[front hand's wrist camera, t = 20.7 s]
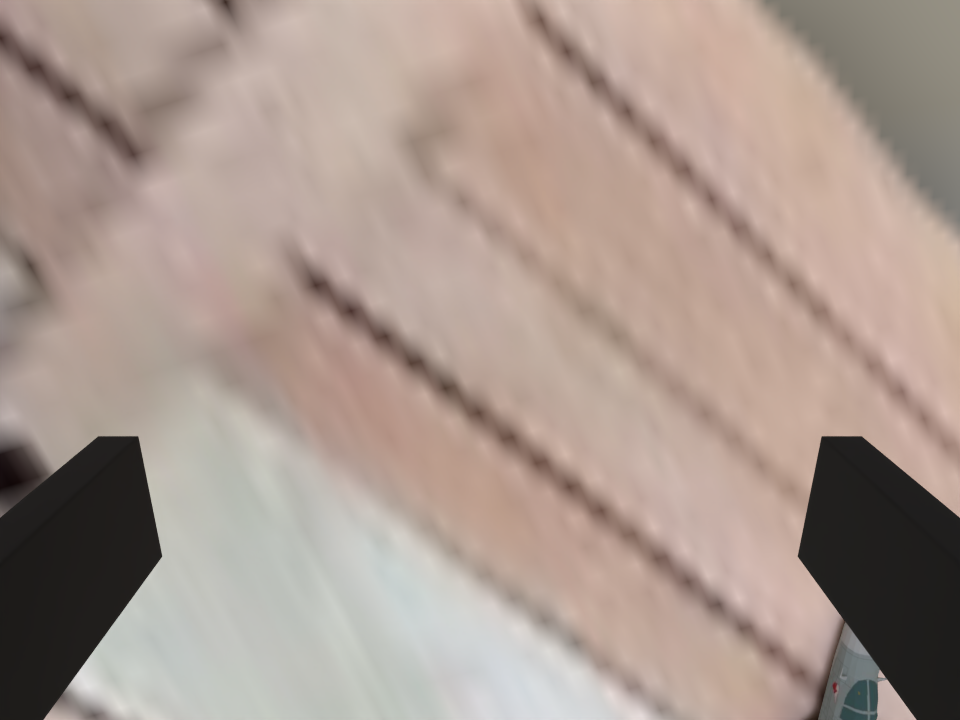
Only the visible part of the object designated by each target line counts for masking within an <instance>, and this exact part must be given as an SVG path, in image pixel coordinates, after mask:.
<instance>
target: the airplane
mask: <svg viewBox="0 0 960 720" xmlns="http://www.w3.org/2000/svg"><path fill="white" fill-rule="evenodd" d="M878 673H879V667H878V666H877V665H876V663H875V662H874V660H873V659H872V658H871V656H870V655H869V654H868V652H867V651H866V649H865V648H864V647H863V645H862V644H861V643H860V641H859V640H858V638H857V637H856V636H855V634H854V633H853V632H852V630H851V629H850V627H849V626H848V625H847V623H846V622H845V624H844V627H843V630H842V634H841V637H840V640H839V643H838V646H837V649H836V653H835V656H834V659H833V663H832V667H831V671H830V675H829V679H828V683H827V687H826V691H825V695H824V699H823V703H822V707H821V710H820V714H819V718H818V720H876V719H877V704H878V688H877V682H878V681H883V680H886V679H887V678H878Z"/></svg>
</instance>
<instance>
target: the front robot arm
mask: <svg viewBox="0 0 960 720" xmlns="http://www.w3.org/2000/svg"><path fill="white" fill-rule="evenodd" d="M161 557H162V553H161V548H160V543H159V538H158V533H157V528H156V523H155V518H154V513H153V508H152V503H151V498H150V493H149V488H148V483H147V478H146V473H145V468H144V463H143V458H142V453H141V448H140V443H139V438H138V436H98V437H97V438H96V439H95V440H93V441H92V442H91V443H90V444H89V445H87V446H86V447H85V448H84V449H83V450H81V451H80V452H79V453H78V454H77V455H75V456H74V457H73V458H72V459H71V460H69V461H68V462H67V463H66V464H65V465H63V466H62V467H61V468H60V469H59V470H57V471H56V472H55V473H54V474H52V475H51V476H50V477H49V478H48V479H46V480H45V481H44V482H43V483H42V484H40V485H39V486H38V487H37V488H36V489H34V490H33V491H32V492H31V493H30V494H28V495H27V496H26V497H25V498H24V499H22V500H21V501H20V502H19V503H18V504H16V505H15V506H14V507H13V508H12V509H10V510H9V511H8V512H7V513H5V514H4V515H3V516H2V517H1V518H0V720H44V718H45V717H46V715H47V714H48V713H49V711H50V710H51V709H52V707H53V706H54V704H55V703H56V702H57V700H58V699H59V698H60V696H61V695H62V693H63V692H64V691H65V689H66V688H67V687H68V685H69V684H70V682H71V681H72V680H73V678H74V677H75V676H76V674H77V673H78V671H79V670H80V669H81V667H82V666H83V665H84V663H85V662H86V660H87V659H88V658H89V656H90V655H91V654H92V652H93V651H94V649H95V648H96V647H97V645H98V644H99V643H100V641H101V640H102V638H103V637H104V636H105V634H106V633H107V632H108V630H109V629H110V627H111V626H112V625H113V623H114V622H115V621H116V619H117V618H118V616H119V615H120V614H121V612H122V611H123V610H124V608H125V607H126V606H127V604H128V603H129V601H130V600H131V599H132V597H133V596H134V595H135V593H136V592H137V590H138V589H139V588H140V586H141V585H142V584H143V582H144V581H145V579H146V578H147V577H148V575H149V574H150V573H151V571H152V570H153V568H154V567H155V566H156V564H157V563H158V562H159V560H160V559H161ZM798 557H799V559H800V560H801V562H802V563H803V564H804V566H805V567H806V568H807V570H808V571H809V573H810V574H811V575H812V577H813V578H814V579H815V581H816V582H817V584H818V585H819V586H820V588H821V589H822V590H823V592H824V593H825V595H826V596H827V597H828V599H829V600H830V601H831V603H832V604H833V606H834V607H835V608H836V610H837V611H838V612H839V614H840V615H841V616H842V618H843V619H844V621H845V622H846V623H847V625H848V626H849V627H850V629H851V630H852V632H853V633H854V634H855V636H856V637H857V638H858V640H859V641H860V643H861V644H862V645H863V647H864V648H865V649H866V651H867V652H868V654H869V655H870V656H871V658H872V659H873V660H874V662H875V663H876V665H877V666H878V667H879V669H880V670H881V671H882V673H883V674H884V676H885V677H886V678H887V680H888V681H889V682H890V684H891V685H892V687H893V688H894V689H895V691H896V692H897V693H898V695H899V696H900V698H901V699H902V700H903V702H904V703H905V704H906V706H907V707H908V709H909V710H910V711H911V713H912V714H913V715H914V717H915V718H916V720H960V518H959V517H958V516H957V515H956V514H955V513H953V512H952V511H951V510H950V509H948V508H947V507H946V506H945V505H944V504H942V503H941V502H940V501H939V500H938V499H936V498H935V497H934V496H933V495H932V494H930V493H929V492H928V491H927V490H926V489H924V488H923V487H922V486H921V485H920V484H918V483H917V482H916V481H915V480H914V479H912V478H911V477H910V476H909V475H908V474H906V473H905V472H904V471H903V470H901V469H900V468H899V467H898V466H897V465H895V464H894V463H893V462H892V461H891V460H889V459H888V458H887V457H886V456H885V455H883V454H882V453H881V452H880V451H879V450H877V449H876V448H875V447H874V446H873V445H871V444H870V443H869V442H868V441H867V440H865V439H864V438H863V437H862V436H822V438H821V443H820V448H819V453H818V458H817V463H816V468H815V473H814V478H813V483H812V488H811V493H810V498H809V503H808V508H807V513H806V518H805V523H804V528H803V533H802V538H801V543H800V548H799V553H798Z"/></svg>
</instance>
